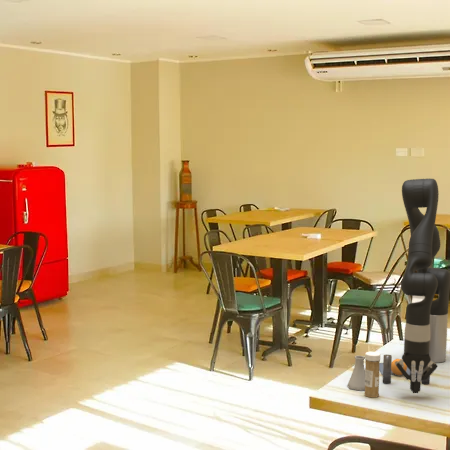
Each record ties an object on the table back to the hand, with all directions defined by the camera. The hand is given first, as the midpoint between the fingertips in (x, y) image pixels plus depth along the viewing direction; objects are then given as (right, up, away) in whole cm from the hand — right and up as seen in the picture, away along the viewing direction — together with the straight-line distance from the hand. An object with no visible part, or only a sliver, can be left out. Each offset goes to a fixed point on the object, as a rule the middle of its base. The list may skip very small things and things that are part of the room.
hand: (414, 392), depth 219 cm
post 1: (-6, 0, +13) cm, 15 cm away
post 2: (+7, 0, +13) cm, 15 cm away
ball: (0, +4, +21) cm, 21 cm away
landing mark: (+1, +2, +27) cm, 27 cm away
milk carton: (+18, +5, +59) cm, 62 cm away
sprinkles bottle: (-13, -1, +1) cm, 13 cm away
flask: (-16, -1, +9) cm, 18 cm away
